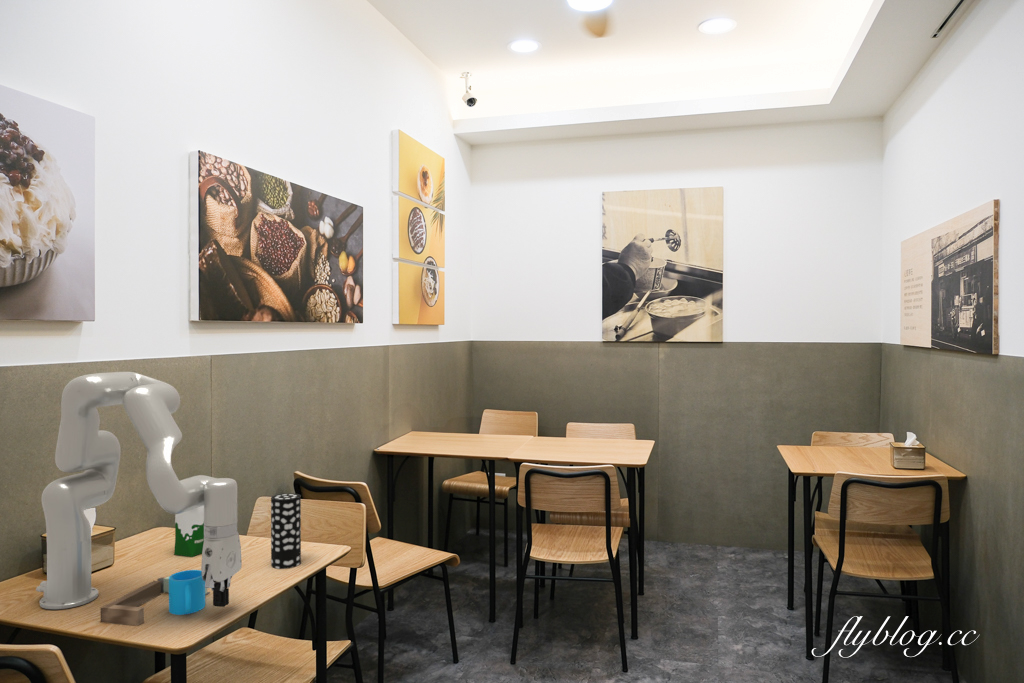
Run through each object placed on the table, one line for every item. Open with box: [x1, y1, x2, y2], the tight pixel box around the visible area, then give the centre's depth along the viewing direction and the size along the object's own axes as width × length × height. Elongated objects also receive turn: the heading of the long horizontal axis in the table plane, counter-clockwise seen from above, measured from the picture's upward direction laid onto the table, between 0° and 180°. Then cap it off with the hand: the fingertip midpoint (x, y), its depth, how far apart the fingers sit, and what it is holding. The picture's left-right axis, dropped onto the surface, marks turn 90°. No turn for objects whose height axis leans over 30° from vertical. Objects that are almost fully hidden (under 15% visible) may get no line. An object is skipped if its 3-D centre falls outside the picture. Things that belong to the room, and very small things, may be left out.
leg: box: [163, 575, 208, 594], centre depth 179 cm, size 12×2×4 cm, turn 77°
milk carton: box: [173, 505, 205, 558], centre depth 213 cm, size 9×9×20 cm
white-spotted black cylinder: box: [270, 492, 302, 570], centre depth 202 cm, size 8×8×20 cm
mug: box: [168, 569, 206, 616], centre depth 168 cm, size 12×8×8 cm
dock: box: [99, 577, 211, 627], centre depth 170 cm, size 14×21×4 cm, turn 169°
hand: (220, 605), depth 166 cm, fingers closed
